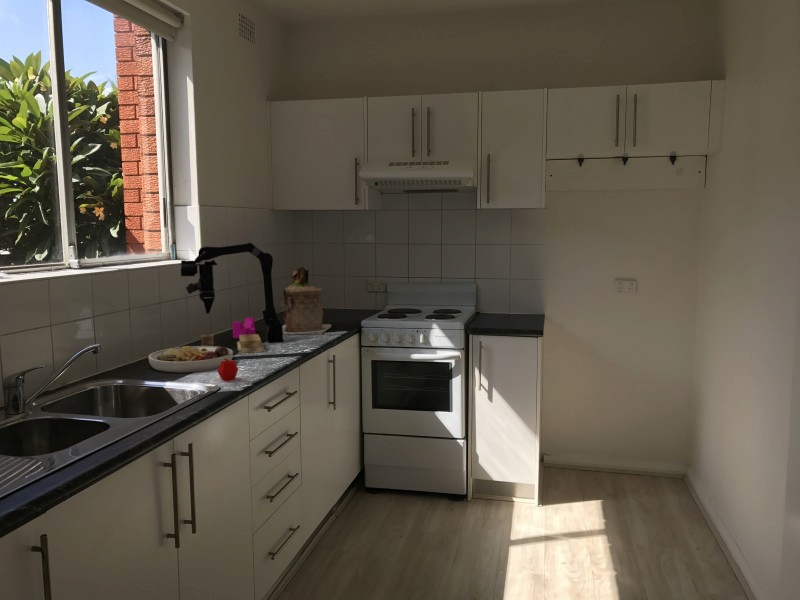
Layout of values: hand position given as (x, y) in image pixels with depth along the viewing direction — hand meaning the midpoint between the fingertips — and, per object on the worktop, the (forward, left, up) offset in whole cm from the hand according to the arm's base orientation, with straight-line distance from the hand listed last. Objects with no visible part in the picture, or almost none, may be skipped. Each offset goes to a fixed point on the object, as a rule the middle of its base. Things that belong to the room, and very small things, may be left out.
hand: (207, 312), depth 289 cm
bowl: (+7, +39, -15) cm, 42 cm away
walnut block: (+1, +8, -15) cm, 17 cm away
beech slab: (-16, +15, -16) cm, 27 cm away
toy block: (-17, -22, -15) cm, 32 cm away
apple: (-5, +69, -15) cm, 71 cm away
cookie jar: (-44, -26, -15) cm, 53 cm away
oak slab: (-16, +15, -12) cm, 25 cm away
